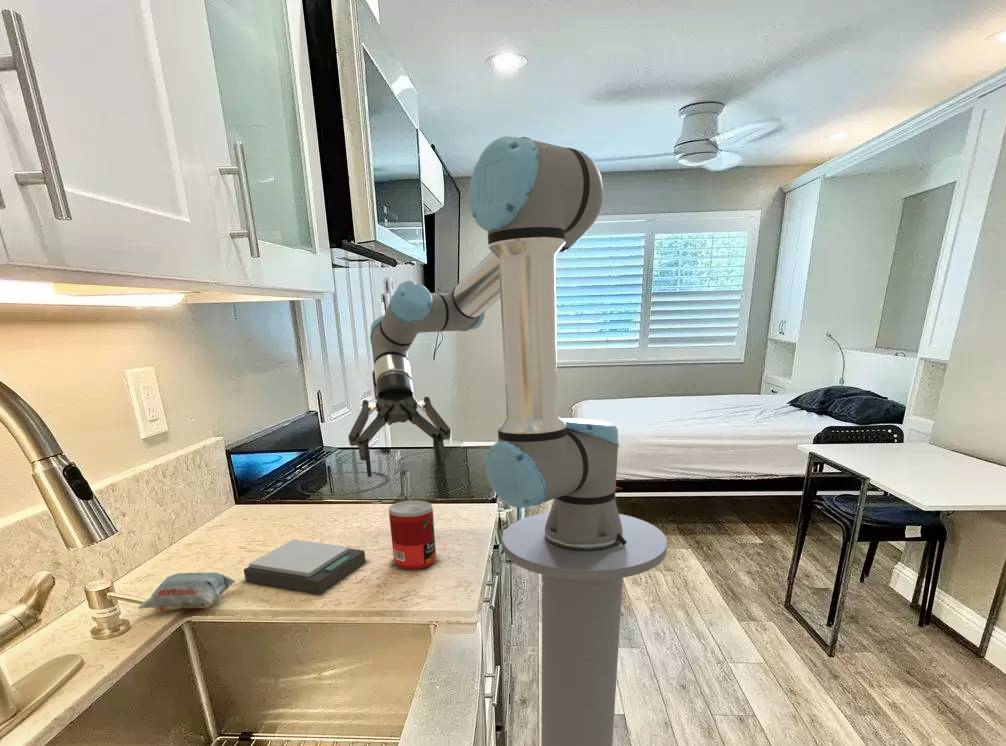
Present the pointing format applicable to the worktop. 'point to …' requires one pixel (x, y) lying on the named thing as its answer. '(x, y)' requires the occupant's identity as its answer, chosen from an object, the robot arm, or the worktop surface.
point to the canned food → (412, 534)
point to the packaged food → (188, 591)
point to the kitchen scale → (304, 566)
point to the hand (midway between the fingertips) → (404, 470)
